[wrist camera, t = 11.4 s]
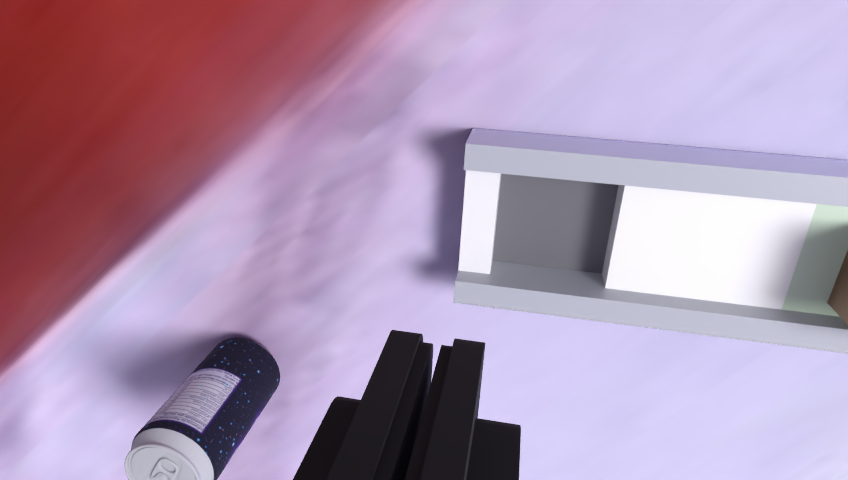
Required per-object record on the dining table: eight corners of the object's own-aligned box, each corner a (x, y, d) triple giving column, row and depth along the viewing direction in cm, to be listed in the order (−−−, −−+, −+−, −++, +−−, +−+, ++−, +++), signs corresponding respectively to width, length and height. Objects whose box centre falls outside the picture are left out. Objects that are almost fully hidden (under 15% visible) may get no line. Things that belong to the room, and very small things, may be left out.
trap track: (472, 128, 36) (465, 143, 32) (1137, 184, 31) (1218, 211, 27) (461, 274, 40) (453, 302, 36) (1047, 345, 35) (1107, 387, 31)
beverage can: (206, 367, 47) (106, 480, 36) (233, 318, 45) (135, 424, 34) (266, 404, 47) (186, 527, 37) (296, 357, 45) (219, 474, 34)
